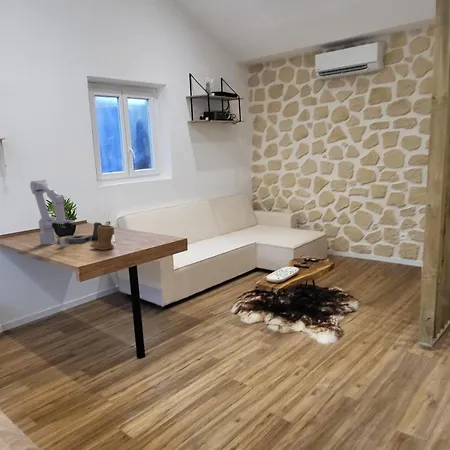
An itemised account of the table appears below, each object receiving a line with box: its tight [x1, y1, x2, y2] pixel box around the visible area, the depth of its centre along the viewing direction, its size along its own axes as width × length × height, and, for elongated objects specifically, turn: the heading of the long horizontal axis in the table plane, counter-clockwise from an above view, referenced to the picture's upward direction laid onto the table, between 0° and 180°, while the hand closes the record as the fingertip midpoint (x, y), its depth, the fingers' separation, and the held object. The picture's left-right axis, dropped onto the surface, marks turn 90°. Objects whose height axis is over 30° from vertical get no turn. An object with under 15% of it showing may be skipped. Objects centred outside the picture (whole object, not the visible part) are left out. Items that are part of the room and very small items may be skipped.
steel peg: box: [58, 236, 70, 248], centre depth 272 cm, size 4×4×6 cm
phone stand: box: [91, 221, 103, 242], centre depth 285 cm, size 9×6×12 cm, turn 134°
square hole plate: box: [57, 234, 93, 245], centre depth 285 cm, size 20×11×3 cm, turn 80°
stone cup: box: [89, 224, 115, 251], centre depth 256 cm, size 15×12×15 cm
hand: (63, 234), depth 271 cm, fingers open, 7 cm apart
